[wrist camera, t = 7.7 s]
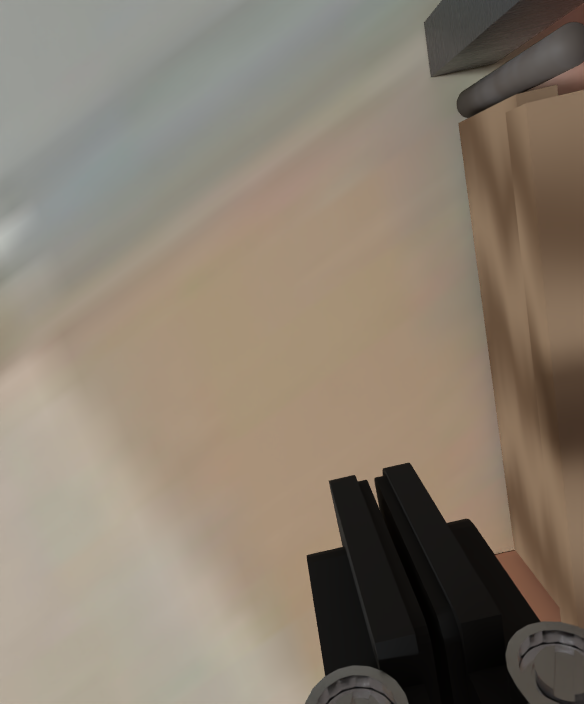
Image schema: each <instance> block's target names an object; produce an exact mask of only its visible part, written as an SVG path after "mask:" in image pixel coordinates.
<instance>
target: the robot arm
mask: <svg viewBox="0 0 584 704" xmlns="http://www.w3.org/2000/svg"><path fill="white" fill-rule="evenodd" d="M329 484H330V489H331V494H332V499H333V503H334V508H335V513H336V517H337V522H338V527H339V532H340V536H341V541H342V546H343V547H340V548H336V549H332V550H327V551H323V552H319V553H314V554H310V555H307V563H308V569H309V575H310V582H311V588H312V594H313V601H314V607H315V613H316V620H317V626H318V632H319V639H320V645H321V651H322V658H323V664H324V671H325V677H324V678H323V679H322V680H321V681H320V682H319V683H318V684H317V685H316V686H315V687H314V688H313V689H312V691H311V693H310V695H309V697H308V699H307V700H306V702H305V704H584V629H582V628H580V627H578V626H575V625H571V624H567V623H563V622H550V621H542V622H541V621H540V620H539V618H538V617H537V615H536V614H535V613H534V611H533V610H532V608H531V607H530V605H529V604H528V602H527V601H526V599H525V598H524V597H523V595H522V594H521V592H520V591H519V589H518V588H517V586H516V585H515V583H514V582H513V581H512V579H511V578H510V576H509V575H508V573H507V572H506V570H505V569H504V567H503V566H502V565H501V563H500V562H499V560H498V559H497V557H496V556H495V554H494V553H493V551H492V550H491V549H490V547H489V546H488V544H487V543H486V541H485V540H484V538H483V537H482V535H481V534H480V533H479V531H478V530H477V528H476V527H475V525H474V524H473V523H472V522H471V521H470V520H469V519H463V520H458V521H454V522H450V523H446V521H445V520H444V518H443V516H442V515H441V513H440V512H439V510H438V508H437V507H436V505H435V503H434V502H433V500H432V498H431V497H430V495H429V493H428V492H427V490H426V488H425V487H424V485H423V483H422V482H421V480H420V479H419V477H418V475H417V474H416V472H415V470H414V469H413V467H412V465H411V464H410V463H405V464H401V465H396V466H392V467H387V468H383V476H381V477H376V478H375V487H376V492H377V498H378V503H379V507H378V505H377V503H376V500H375V498H374V495H373V493H372V491H371V488H370V486H369V483H368V481H367V480H363V481H359V482H358V481H357V479H356V476H355V475H352V476H348V477H343V478H339V479H335V480H330V481H329ZM379 509H380V510H379Z"/></svg>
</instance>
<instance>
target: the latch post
mask: <svg viewBox="0 0 584 704" xmlns="http://www.w3.org/2000/svg"><path fill="white" fill-rule="evenodd" d="M495 556H496V557H497V559H498V560H499V562H500V563H501V565H502V566H503V567H504V569H505V570H506V572H507V573H508V575H509V576H510V578H511V579H512V581H513V582H514V583H515V585H516V586H517V588H518V589H519V591H520V592H521V594H522V595H523V597H524V598H525V599H526V601H527V602H528V604H529V605H530V607H531V608H532V610H533V611H534V613H535V614H536V615H537V617H538V618H539V620H540V621H541V622H542V621H550V622H561V617H560V608H559V606H558V605H557V604H556V603H555V601H554V600H553V599H552V597H551V596H550V595H549V593H548V592H547V591H546V589H545V588H544V587H543V586H542V584H541V583H540V582H539V580H538V579H537V578H536V576H535V575H534V574H533V572H532V571H531V570H530V569H529V567H528V566H527V565H526V563H525V562H524V561H523V559H522V558H521V557H520V555H519V554H518V553H517V552H516V550H515V551H510V552H505V553H501V554H496V555H495Z"/></svg>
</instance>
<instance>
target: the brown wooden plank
mask: <svg viewBox="0 0 584 704" xmlns="http://www.w3.org/2000/svg"><path fill="white" fill-rule="evenodd" d="M583 61H584V25H583V24H581V23H578V22H571V23H567V24H565V25H563V26H562V27H560V28H559V29H557V30H556V31H554V32H553V33H551V34H550V35H548V36H547V37H545V38H544V39H542V40H540V41H539V42H537V43H536V44H534V45H533V46H531V47H530V48H528V49H527V50H525V51H524V52H522V53H521V54H519V55H518V56H516V57H514V58H513V59H511V60H510V61H508V62H507V63H505V64H504V65H502V66H501V67H499V68H498V69H496V70H495V71H493V72H492V73H490V74H488V75H487V76H485V77H484V78H482V79H481V80H479V81H478V82H476V83H475V84H473V85H472V86H470V87H469V88H467V89H465V90H464V91H463V92H462V93H461V94H460V95H459V97H458V99H457V109H458V111H459V113H460V114H461V115H462V116H463V117H466V118H468V119H466V120H464V121H462V122H460V123H459V131H460V138H461V146H462V154H463V161H464V169H465V176H466V184H467V192H468V199H469V207H470V214H471V222H472V230H473V237H474V245H475V252H476V260H477V267H478V275H479V283H480V290H481V298H482V305H483V313H484V321H485V328H486V336H487V343H488V351H489V359H490V366H491V374H492V381H493V389H494V397H495V404H496V412H497V419H498V427H499V435H500V442H501V450H502V457H503V465H504V473H505V480H506V488H507V495H508V503H509V510H510V518H511V526H512V533H513V541H514V548H515V550H516V552H517V553H518V554H519V555H520V557H521V558H522V559H523V561H524V562H525V563H526V565H527V566H528V567H529V569H530V570H531V571H532V572H533V574H534V575H535V576H536V578H537V579H538V580H539V582H540V583H541V584H542V586H543V587H544V588H545V589H546V591H547V592H548V593H549V595H550V596H551V597H552V599H553V600H554V601H555V603H556V604H557V605H558V606H559V608H560V617H561V622H563V623H567V624H571V625H575V626H578V627H580V628H582V629H584V90H580V91H576V92H572V93H568V94H563V95H559V96H558V88H557V85H554V86H549V87H545V88H541V89H537V90H532V91H528V92H525V91H527V90H529V89H531V88H534V87H536V86H538V85H540V84H542V83H544V82H546V81H548V80H550V79H552V78H554V77H556V76H558V75H560V74H562V73H564V72H566V71H568V70H570V69H572V68H574V67H576V66H578V65H580V64H581V63H582V62H583ZM523 92H524V93H523Z"/></svg>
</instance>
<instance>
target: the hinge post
mask: <svg viewBox="0 0 584 704" xmlns="http://www.w3.org/2000/svg"><path fill="white" fill-rule="evenodd" d="M582 3H584V0H442V1H441V2H440V3H439V5H438V6H437V7H436V8H435V10H434V11H433V12H432V13H431V15H430V16H429V17H428V18H427V20H426V21H425V22H424V26H425V34H426V41H427V49H428V57H429V65H430V73H431V77H433V76H438V75H443V74H447V73H452V72H456V71H461V70H465V69H470V68H474V67H479V66H484V65H488V64H493V63H496V62H497V61H499V60H500V59H502V58H503V57H505V56H506V55H508V54H509V53H510V52H512V51H513V50H515V49H516V48H518V47H519V46H521V45H522V44H524V43H525V42H527V41H528V40H529V39H531V38H532V37H534V36H535V35H537V34H538V33H540V32H541V31H543V30H544V29H546V28H547V27H548V26H550V25H551V24H553V23H554V22H556V21H557V20H559V19H560V18H562V17H563V16H565V15H566V14H567V13H569V12H570V11H572V10H573V9H575V8H576V7H578V6H579V5H581V4H582Z"/></svg>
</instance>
